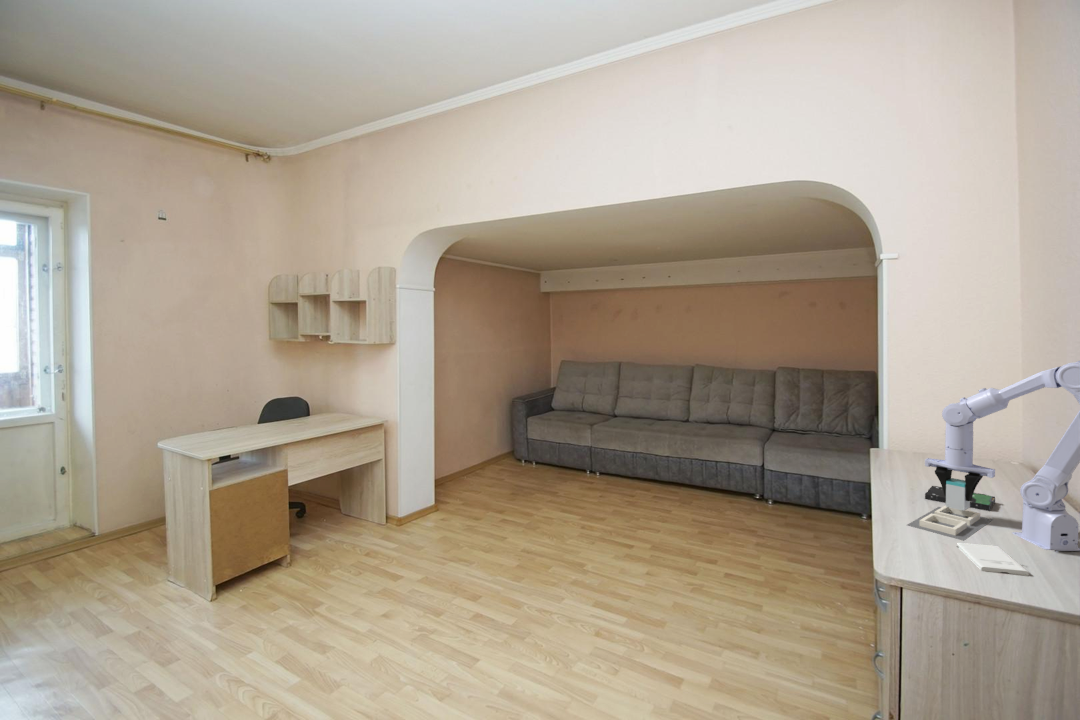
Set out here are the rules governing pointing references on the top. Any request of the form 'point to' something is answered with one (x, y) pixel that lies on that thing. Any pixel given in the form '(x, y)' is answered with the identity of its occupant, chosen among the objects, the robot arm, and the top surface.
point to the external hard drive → (992, 559)
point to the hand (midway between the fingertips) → (957, 497)
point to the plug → (956, 494)
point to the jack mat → (962, 534)
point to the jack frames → (949, 520)
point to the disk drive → (977, 501)
